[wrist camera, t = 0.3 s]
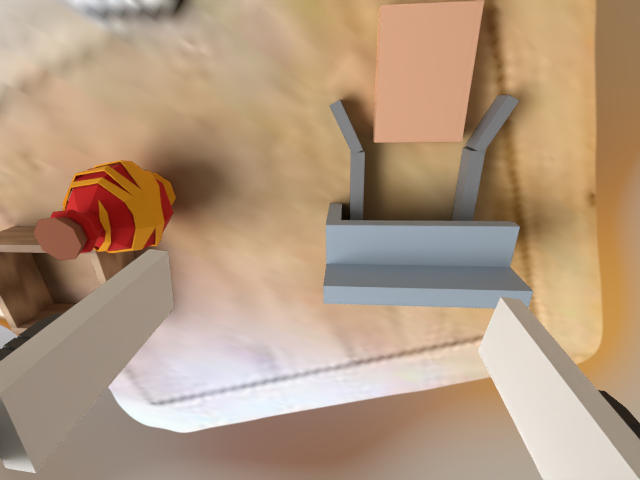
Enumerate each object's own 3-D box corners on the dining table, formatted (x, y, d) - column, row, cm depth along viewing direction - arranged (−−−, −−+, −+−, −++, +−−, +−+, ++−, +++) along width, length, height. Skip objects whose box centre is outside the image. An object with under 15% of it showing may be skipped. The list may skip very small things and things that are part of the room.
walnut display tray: (13, 226, 44) (-34, 244, 39) (126, 227, 43) (93, 246, 38) (50, 308, 50) (13, 333, 45) (151, 311, 49) (126, 338, 43)
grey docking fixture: (328, 100, 34) (318, 99, 23) (510, 95, 33) (591, 92, 22) (330, 250, 42) (323, 303, 31) (479, 252, 40) (527, 309, 29)
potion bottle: (192, 237, 43) (118, 301, 29) (118, 218, 43) (8, 274, 29) (197, 162, 38) (114, 195, 25) (114, 140, 38) (-16, 163, 25)
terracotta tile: (378, 13, 31) (381, 5, 28) (472, 9, 30) (484, 0, 28) (372, 139, 36) (374, 142, 33) (453, 138, 35) (462, 141, 33)
